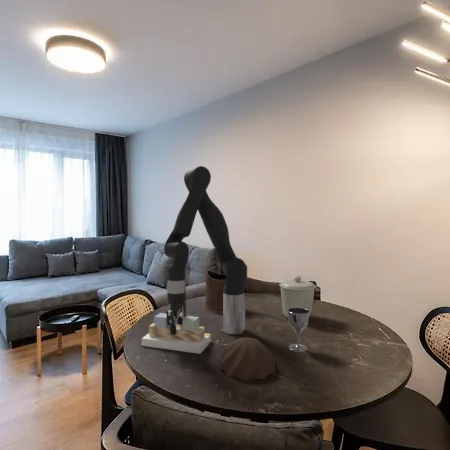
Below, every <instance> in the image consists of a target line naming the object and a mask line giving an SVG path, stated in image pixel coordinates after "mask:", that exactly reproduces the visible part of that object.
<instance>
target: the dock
mask: <svg viewBox="0 0 450 450" xmlns="http://www.w3.org/2000/svg"><path fill="white" fill-rule="evenodd" d="M211 341H212V334H211V333H208V332H207V333H206V332H205V337H204V338H203V339H202V340H201V341H200V342H195V341H187V340H179V339H171V338H163V337H156V336H149V332H148V333H147V334H146V335H144V336H143V337H142V338H141V346H142V347H147V348H155V349H164V350H171V351H177V352H178V351H179V352H185V353H192V354H199V355H200V354H202V353H203V351H204V350H205V349H206V348H207V346H208V345H209V344H210V343H211Z"/></svg>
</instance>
